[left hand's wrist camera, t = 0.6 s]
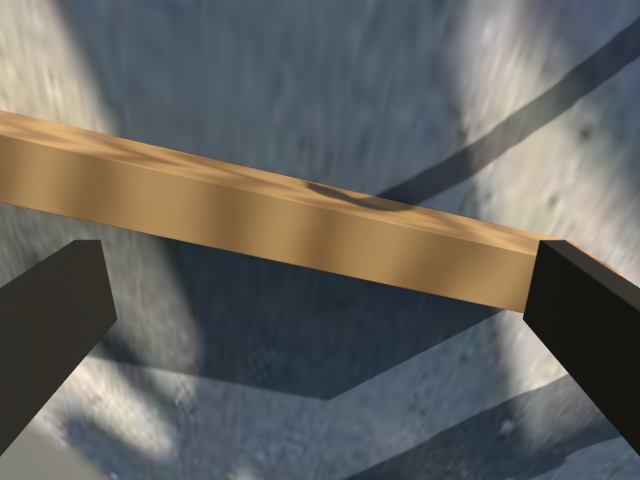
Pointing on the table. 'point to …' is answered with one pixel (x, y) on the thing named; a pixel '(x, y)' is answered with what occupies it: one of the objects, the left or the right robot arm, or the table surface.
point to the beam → (262, 213)
